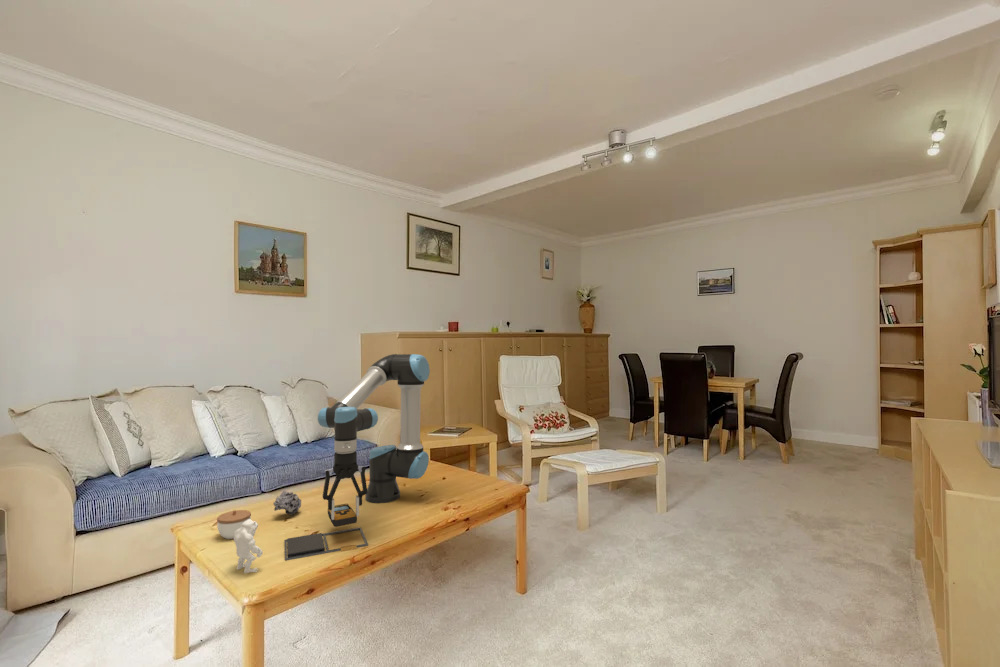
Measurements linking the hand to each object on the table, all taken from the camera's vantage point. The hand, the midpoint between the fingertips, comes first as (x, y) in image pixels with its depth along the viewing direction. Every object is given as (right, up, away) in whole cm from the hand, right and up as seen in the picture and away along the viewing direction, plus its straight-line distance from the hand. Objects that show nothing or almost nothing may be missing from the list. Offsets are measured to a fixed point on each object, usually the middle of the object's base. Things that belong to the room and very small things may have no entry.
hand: (345, 516), depth 167 cm
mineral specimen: (-31, -10, +24) cm, 40 cm away
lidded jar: (-42, -9, +5) cm, 43 cm away
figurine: (-24, -9, -20) cm, 33 cm away
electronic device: (0, -5, -1) cm, 5 cm away
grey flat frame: (-6, -9, -3) cm, 11 cm away
